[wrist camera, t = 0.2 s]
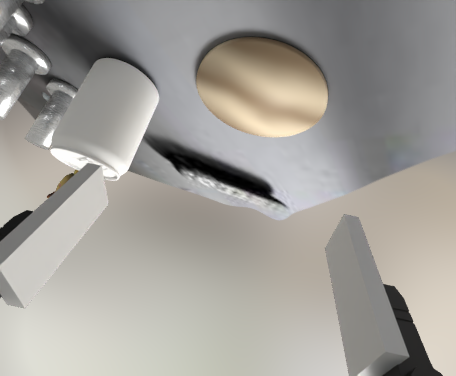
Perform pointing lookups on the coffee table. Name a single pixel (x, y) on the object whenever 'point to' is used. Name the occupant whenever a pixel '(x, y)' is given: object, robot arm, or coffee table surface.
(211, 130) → the coffee table surface
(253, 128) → the cork coaster
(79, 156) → the beverage can
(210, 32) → the coffee table surface
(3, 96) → the posts
